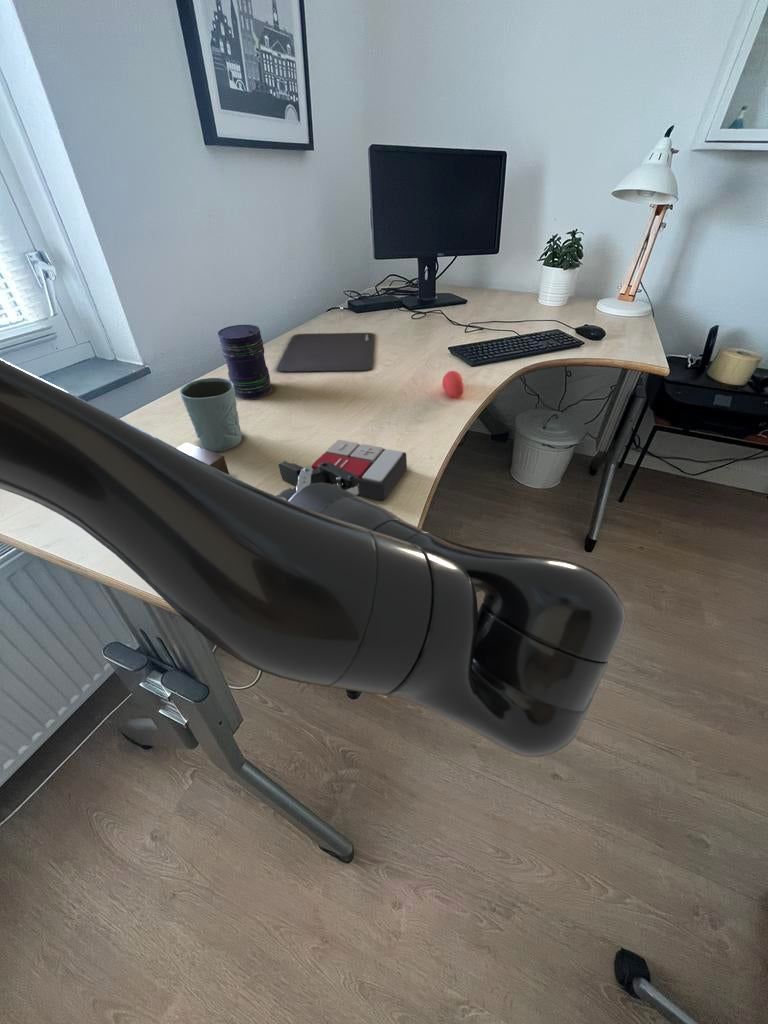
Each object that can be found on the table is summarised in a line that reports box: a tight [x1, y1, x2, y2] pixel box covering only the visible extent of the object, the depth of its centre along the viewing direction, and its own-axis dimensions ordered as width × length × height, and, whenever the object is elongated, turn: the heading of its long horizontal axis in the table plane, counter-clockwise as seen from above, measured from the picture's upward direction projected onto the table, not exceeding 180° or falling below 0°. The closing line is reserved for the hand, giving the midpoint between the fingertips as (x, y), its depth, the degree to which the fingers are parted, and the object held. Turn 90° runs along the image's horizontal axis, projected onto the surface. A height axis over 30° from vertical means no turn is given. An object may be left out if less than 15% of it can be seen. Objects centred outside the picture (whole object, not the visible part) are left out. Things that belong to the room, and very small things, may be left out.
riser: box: [175, 441, 231, 476], centre depth 79 cm, size 10×10×5 cm
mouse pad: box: [276, 332, 375, 373], centre depth 132 cm, size 32×27×1 cm
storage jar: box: [217, 324, 272, 400], centre depth 107 cm, size 10×10×15 cm
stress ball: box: [441, 370, 464, 399], centre depth 107 cm, size 5×9×6 cm, turn 166°
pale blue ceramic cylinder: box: [179, 377, 243, 452], centre depth 89 cm, size 10×10×12 cm
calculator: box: [310, 439, 408, 501], centre depth 80 cm, size 11×4×15 cm
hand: (247, 485), depth 45 cm, fingers open, 8 cm apart
